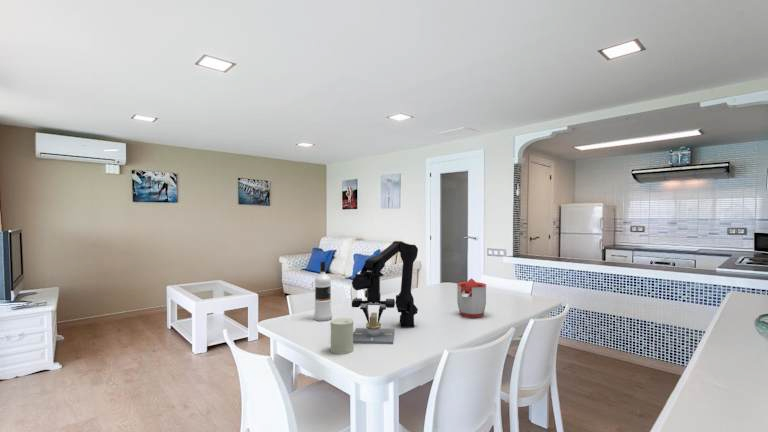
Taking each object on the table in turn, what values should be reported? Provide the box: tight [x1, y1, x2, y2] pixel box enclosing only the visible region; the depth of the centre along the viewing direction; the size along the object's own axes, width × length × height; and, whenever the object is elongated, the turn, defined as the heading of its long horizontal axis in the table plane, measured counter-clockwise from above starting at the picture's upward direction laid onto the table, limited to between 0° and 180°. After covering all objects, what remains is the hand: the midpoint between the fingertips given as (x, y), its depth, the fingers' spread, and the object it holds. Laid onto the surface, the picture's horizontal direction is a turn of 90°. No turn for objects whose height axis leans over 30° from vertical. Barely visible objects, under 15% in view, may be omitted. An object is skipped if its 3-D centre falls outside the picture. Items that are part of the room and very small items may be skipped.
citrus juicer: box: [456, 277, 487, 319], centre depth 198 cm, size 16×17×20 cm
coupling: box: [365, 312, 382, 329], centre depth 163 cm, size 6×9×5 cm
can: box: [329, 317, 354, 355], centre depth 147 cm, size 9×9×12 cm
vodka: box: [313, 260, 333, 322], centre depth 192 cm, size 9×9×30 cm
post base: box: [353, 327, 396, 345], centre depth 163 cm, size 18×18×4 cm
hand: (373, 322), depth 163 cm, fingers open, 4 cm apart
